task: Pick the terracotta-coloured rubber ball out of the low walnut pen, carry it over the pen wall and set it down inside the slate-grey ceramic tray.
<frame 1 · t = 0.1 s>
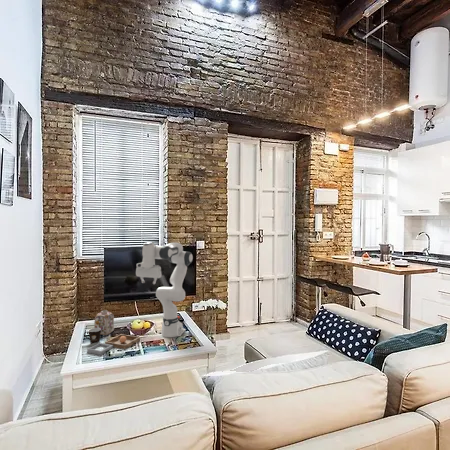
hand: (148, 283, 237), 48 cm above the table, fingers open, 8 cm apart
tray: (100, 350, 233), on the table
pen: (122, 344, 245), on the table
coffee mug: (93, 342, 248), on the table
ball: (122, 342, 245), point 1 cm above the table, touching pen
decorative jar: (104, 332, 271), on the table
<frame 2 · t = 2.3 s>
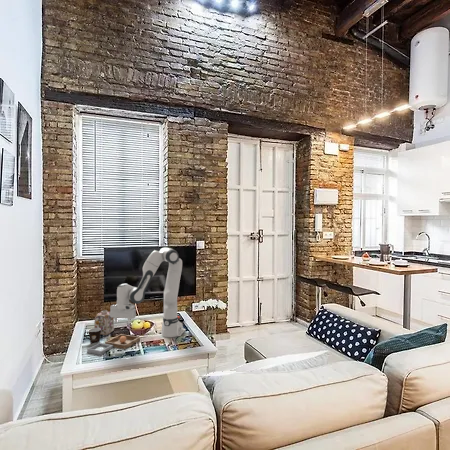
hand: (122, 323, 245), 16 cm above the table, fingers open, 8 cm apart
nothing on the table moved.
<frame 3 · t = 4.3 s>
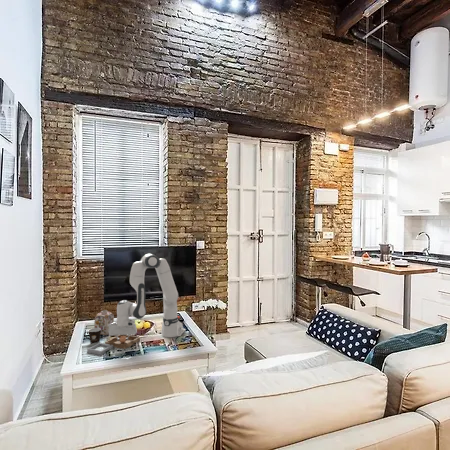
hand: (122, 340, 245), 3 cm above the table, fingers closed on ball, 5 cm apart
ball: (122, 342, 245), point 1 cm above the table, touching gripper, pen
everything else where it was.
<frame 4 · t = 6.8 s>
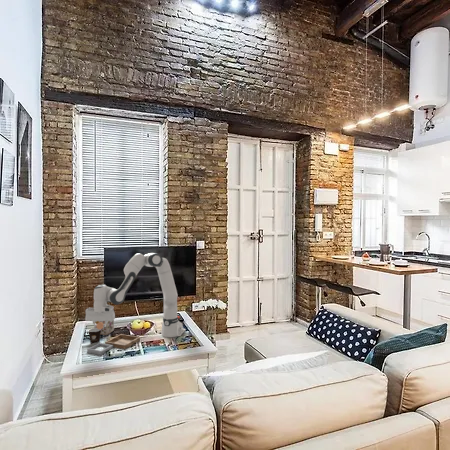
hand: (100, 326, 233), 17 cm above the table, fingers closed on ball, 5 cm apart
ball: (100, 329, 233), point 15 cm above the table, touching gripper
everything else where it was.
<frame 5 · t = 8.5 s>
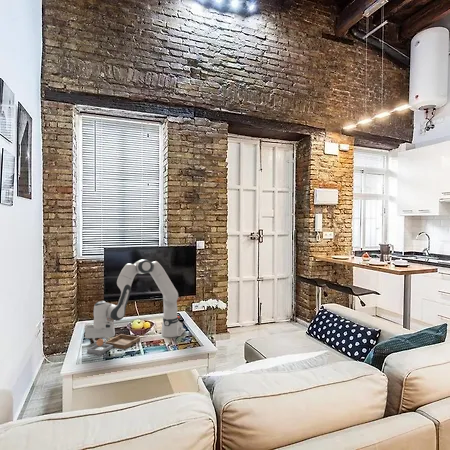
hand: (100, 343, 233), 5 cm above the table, fingers closed on ball, 5 cm apart
ball: (100, 345, 233), point 3 cm above the table, touching gripper
everything else where it was.
when the fingers open (4 cm above the table, at t = 9.6 s): ball drops 1 cm, resting on tray.
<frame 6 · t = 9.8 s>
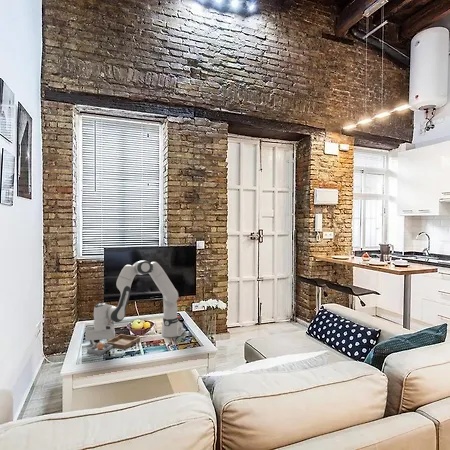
hand: (100, 345, 233), 4 cm above the table, fingers open, 7 cm apart
ball: (100, 349, 233), point 1 cm above the table, touching tray
everything else where it was.
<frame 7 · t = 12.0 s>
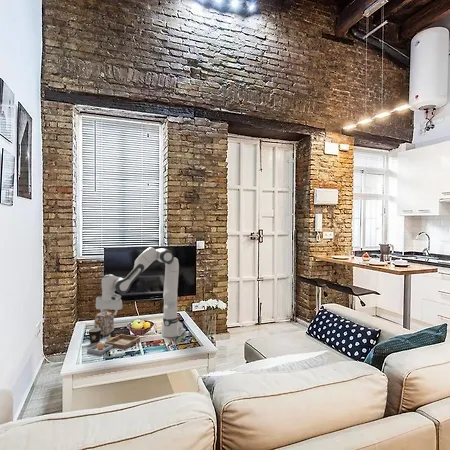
hand: (109, 315, 240), 23 cm above the table, fingers open, 8 cm apart
nothing on the table moved.
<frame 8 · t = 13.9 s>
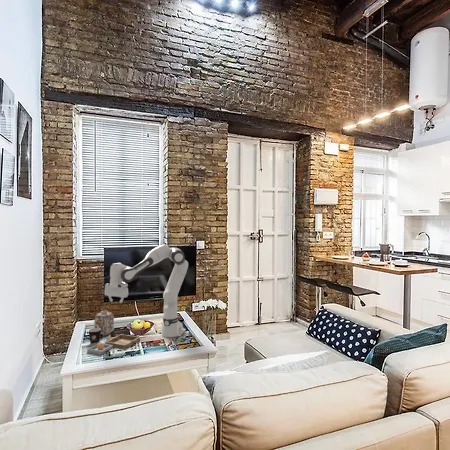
hand: (116, 302, 248), 31 cm above the table, fingers open, 8 cm apart
nothing on the table moved.
at the end: ball inside the target area on the tray (0.0 cm from its centre), point 0.8 cm above the tray's base; the gripper is holding nothing; ball touching tray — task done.
